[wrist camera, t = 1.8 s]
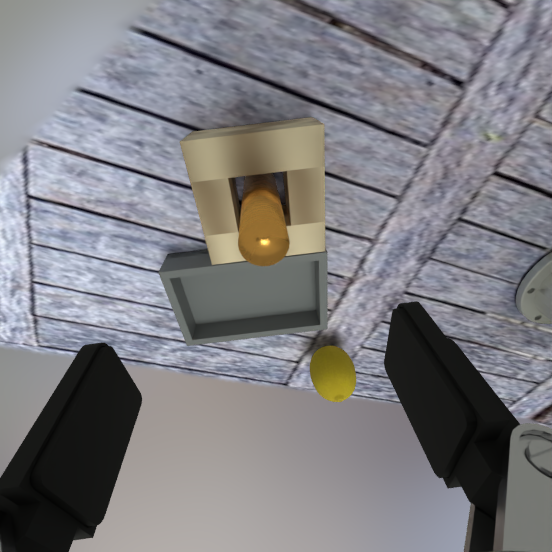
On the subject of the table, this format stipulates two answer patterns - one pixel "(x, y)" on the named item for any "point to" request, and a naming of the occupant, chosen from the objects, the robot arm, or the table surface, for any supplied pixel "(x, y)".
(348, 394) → the lemon
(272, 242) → the pin
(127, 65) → the table surface
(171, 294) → the tray
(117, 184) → the table surface
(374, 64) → the table surface
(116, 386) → the robot arm
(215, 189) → the pin block
